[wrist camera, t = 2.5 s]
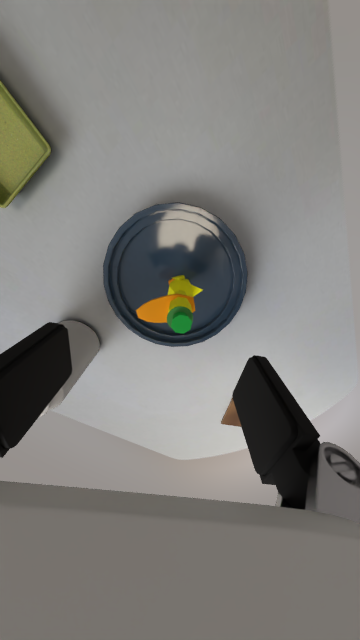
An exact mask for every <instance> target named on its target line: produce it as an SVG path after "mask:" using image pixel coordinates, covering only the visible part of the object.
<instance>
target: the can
mask: <svg viewBox="0 0 360 640" xmlns="http://www.w3.org/2000/svg"><path fill="white" fill-rule="evenodd" d="M58 324H63V325H64V326H65V328H67V329H68V335H69V344H70V353H71V361H72V374H71V376H70V377H69V379H68V380H67V381H66V382H65V384H64V385H63V386H62V388H61V389H60V390H59V391H58V393H57V394H56V395H55V397H54V398H53V399H52V400H51V402H50V403H49V404H48V406H47V407H46V408H45V409H44V411H43V412H42V413H41V415H40V416H39V417H41V416H43V415H45V414H46V413H47V412H48V410H50V409H53V408H55V407H57V406H59V405H60V404H61V403H62V401H63V400H64V398H65V397H66V396H67V394H68V393H69V392H70V390H71V389H72V387H73V386H74V385H75V383H76V382H77V380H78V379H79V378H80V376H81V375H82V374H83V372H84V371H85V369H86V368H87V367H88V365H89V364H90V363H91V361H92V360H93V358H94V357H95V356H96V354H97V353H98V351H99V347H100V343H99V339H98V337H97V336H96V334H95V332H94V331H93V330H91V329H90V328H89V327H88V326H86V325H84V324H83V323H80V322H77V321H63V322H60V323H58Z"/></svg>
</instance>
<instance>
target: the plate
mask: <svg viewBox="0 0 360 640" xmlns="http://www.w3.org/2000/svg"><path fill="white" fill-rule="evenodd" d="M179 275H184V276H185V279H188V280H189V282H190V283H191V285H193V286H196V287H198V288H200V289H203V290H202V291H201V292H200V293H198V294H197V295H195V296H194V297H193V298H194V304H195V311H194V312H193V313H192V314H193V322H192V325H191V329H190V330H189V331H187V332H185V333H184V334H182V333H176V332H175V331H174V330H173V329H172V328H171V327H169V325H168V323H153V322H147V321H145V320H142V319H140V318H138V315H137V312H136V310H137V309H138V308H139V307H141V306H142V305H143V304H144V303H146V302H148V301H150V300H152V299H156V298H159V297H162V296H166V295H168V290H169V282H168V281H169V280H171V279H173V278H172V277H176V276H179ZM103 280H104V287H105V291H106V294H107V298H108V301H109V303H110V305H111V307H112V309H113V310H114V312H115V314H116V316H117V317H118V318H119V319H120V320H121V321H122V323H123V324H124V325H125V326H126V327H127V328H128V329H129V330H131V331H132V332H134V333H135V334H137V335H138V336H139V337H141V338H143V339H145V340H148V341H150V342H153V343H155V344H159V345H165V346H171V347H176V346H189V345H193V344H196V343H200V342H203V341H205V340H207V339H209V338H211V337H213V336H215V335H216V334H218V333H219V332H220V331H221V330H222V329H224V328H225V327H226V326H227V325H228V324H229V323H230V322H231V320H232V319H233V318H234V316H235V315H236V313H237V312H238V310H239V309H240V306H241V304H242V301H243V298H244V296H245V293H246V284H247V267H246V261H245V256H244V252H243V250H242V248H241V246H240V244H239V242H238V240H237V238H236V236H235V234H234V233H233V232H232V231H231V230H230V229H229V228H228V227H227V226H226V224H225V223H224V222H223V221H222V220H221V219H220V218H218V217H216V216H215V215H213V214H211V213H209V212H208V211H206V210H204V209H203V208H201V207H196V206H192V205H188V204H183V203H168V204H157V205H154V206H152V207H149V208H147V209H145V210H142V211H140V212H138V213H136V214H134V215H133V216H132V217H131V218H130V219H129V220H128V221H126V222H125V223H124V224H123V225H122V226H121V227H120V228H119V229H118V231H117V232H116V234H115V236H114V237H113V239H112V240H111V242H110V244H109V246H108V249H107V253H106V257H105V260H104V265H103Z"/></svg>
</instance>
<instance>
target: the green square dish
mask: <svg viewBox="0 0 360 640" xmlns="http://www.w3.org/2000/svg"><path fill="white" fill-rule="evenodd" d="M50 154H51V147H50V145H49V144H48V143H47V141H46V140H45V139H44V137H43V136H42V135H41V133H40V132H39V131H38V129H37V128H36V127H35V125H34V124H33V123H32V121H31V120H30V119H29V118H28V116H27V115H26V114H25V112H24V111H23V110H22V108H21V107H20V106H19V104H18V103H17V102H16V100H15V99H14V98H13V96H12V95H11V94H10V92H9V91H8V90H7V88H6V87H5V86H4V85H3V83H2V82H1V80H0V207H1V208H6V207H7V206H8V205H9V204H10V203H11V202H12V200H13V199H14V198H15V197H16V195H17V194H18V193H19V192H20V191H21V189H22V188H23V187H24V186H25V184H26V183H27V182H28V181H29V179H30V178H31V177H32V176H33V175H34V173H35V172H36V171H37V170H38V169H39V167H40V166H41V165H42V164H43V162H44V161H45V160H46V159H47V158H48V157H49V155H50Z"/></svg>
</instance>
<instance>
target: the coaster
mask: <svg viewBox="0 0 360 640" xmlns="http://www.w3.org/2000/svg"><path fill="white" fill-rule="evenodd" d="M221 424H225V425H233V426H240V427H241V424H240V420H239V417H238V414H237V411H236V408H235V405H234V401H233V398H232V400H231V402H230V404H229V406H228V408H227V411H226V413H225V415H224V417H223V419H222V421H221Z"/></svg>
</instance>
